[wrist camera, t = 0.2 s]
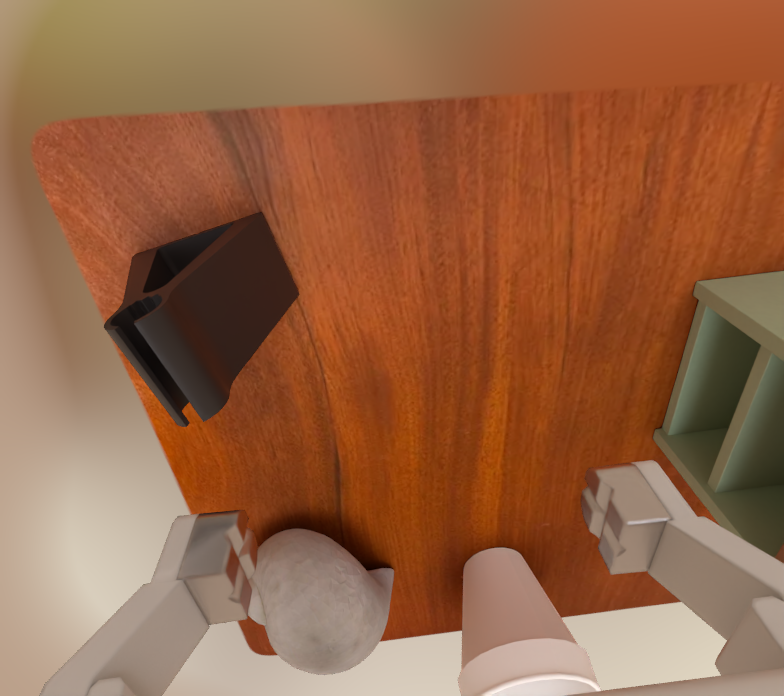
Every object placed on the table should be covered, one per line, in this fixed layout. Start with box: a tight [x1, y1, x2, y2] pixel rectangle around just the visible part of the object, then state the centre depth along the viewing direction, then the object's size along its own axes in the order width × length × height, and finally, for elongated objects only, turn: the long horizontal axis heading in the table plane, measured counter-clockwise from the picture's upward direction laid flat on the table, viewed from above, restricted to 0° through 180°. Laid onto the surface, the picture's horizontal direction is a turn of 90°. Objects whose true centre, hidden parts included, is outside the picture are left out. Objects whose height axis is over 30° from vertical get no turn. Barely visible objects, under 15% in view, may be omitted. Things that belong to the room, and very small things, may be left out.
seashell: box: [248, 528, 394, 675], centre depth 47 cm, size 15×14×15 cm
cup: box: [458, 548, 601, 696], centre depth 47 cm, size 12×12×14 cm
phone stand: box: [104, 212, 299, 427], centre depth 27 cm, size 9×6×12 cm, turn 107°
